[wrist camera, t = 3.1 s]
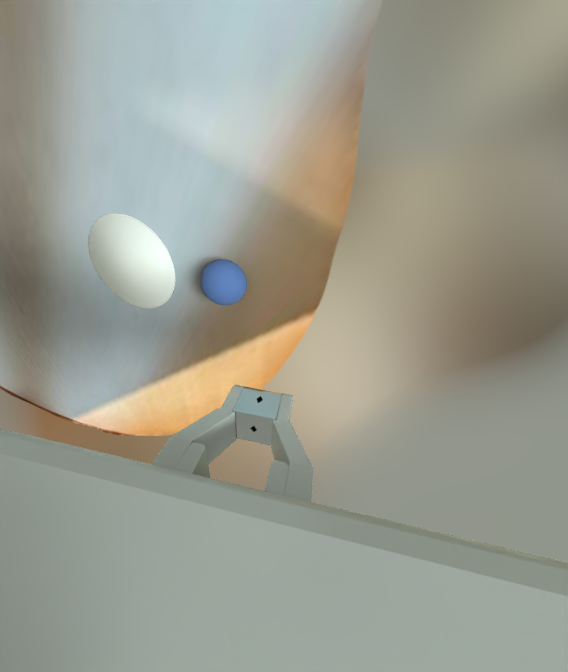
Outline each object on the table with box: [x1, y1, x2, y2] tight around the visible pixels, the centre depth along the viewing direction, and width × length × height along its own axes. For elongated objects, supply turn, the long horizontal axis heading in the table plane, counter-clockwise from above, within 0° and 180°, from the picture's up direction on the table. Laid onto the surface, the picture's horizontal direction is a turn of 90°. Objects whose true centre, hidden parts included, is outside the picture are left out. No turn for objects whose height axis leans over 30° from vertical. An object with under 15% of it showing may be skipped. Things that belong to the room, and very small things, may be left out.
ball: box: [201, 260, 247, 305], centre depth 27 cm, size 6×6×6 cm
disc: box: [88, 214, 176, 308], centre depth 31 cm, size 13×13×1 cm
